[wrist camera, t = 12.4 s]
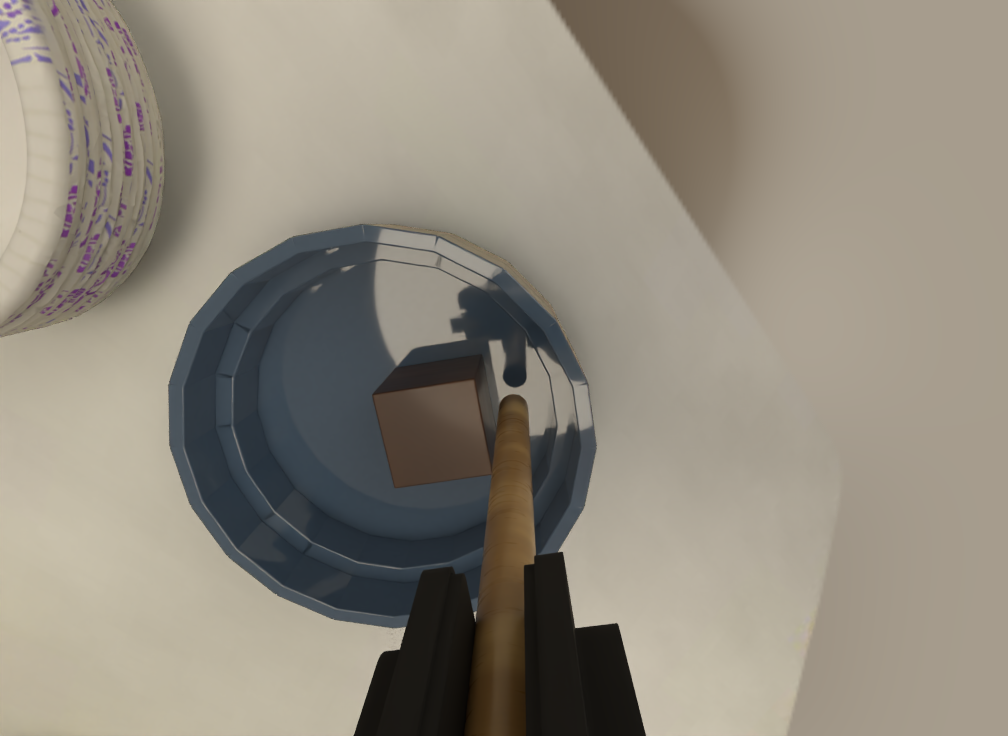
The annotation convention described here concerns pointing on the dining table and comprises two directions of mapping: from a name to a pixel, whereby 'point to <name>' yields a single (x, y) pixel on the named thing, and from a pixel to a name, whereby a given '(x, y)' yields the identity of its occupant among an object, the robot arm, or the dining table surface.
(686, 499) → the dining table surface
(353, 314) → the stir bowl
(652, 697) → the dining table surface
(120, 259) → the paper bowls
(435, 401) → the walnut cube
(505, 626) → the bamboo stick
